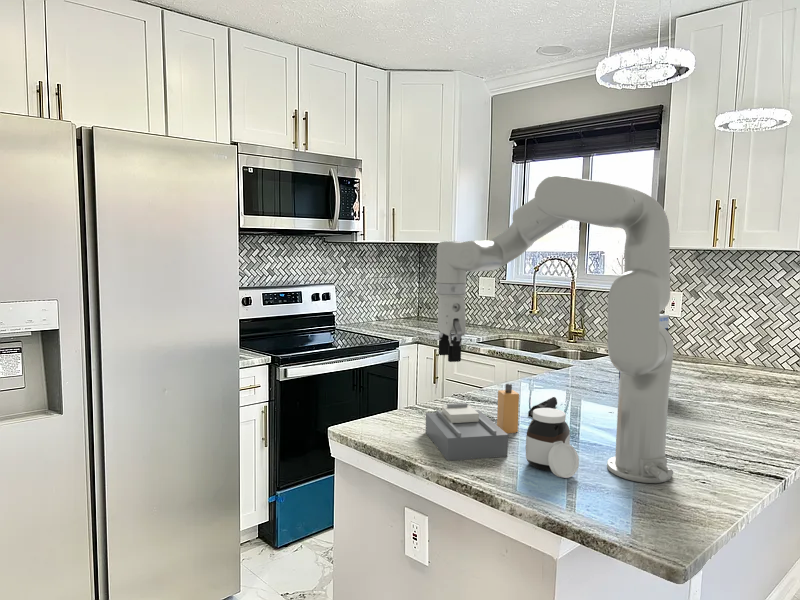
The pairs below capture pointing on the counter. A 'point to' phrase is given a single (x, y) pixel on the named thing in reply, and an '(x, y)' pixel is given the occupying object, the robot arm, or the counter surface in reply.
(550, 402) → the electric trimmer
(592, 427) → the counter surface
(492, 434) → the socket
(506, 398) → the plug
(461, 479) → the counter surface
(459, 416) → the shutter
